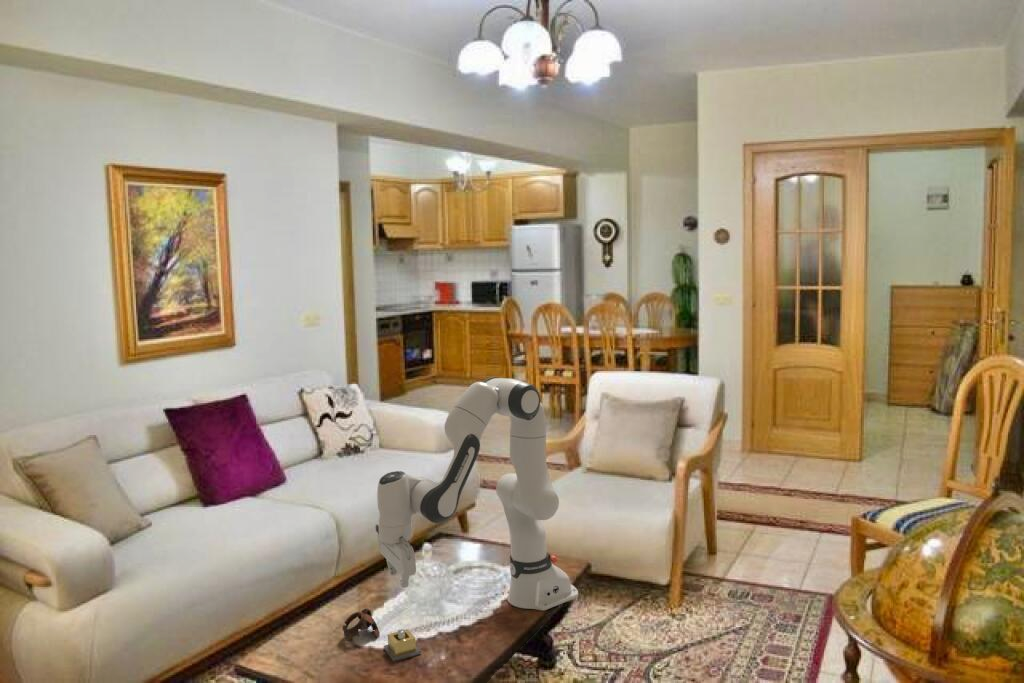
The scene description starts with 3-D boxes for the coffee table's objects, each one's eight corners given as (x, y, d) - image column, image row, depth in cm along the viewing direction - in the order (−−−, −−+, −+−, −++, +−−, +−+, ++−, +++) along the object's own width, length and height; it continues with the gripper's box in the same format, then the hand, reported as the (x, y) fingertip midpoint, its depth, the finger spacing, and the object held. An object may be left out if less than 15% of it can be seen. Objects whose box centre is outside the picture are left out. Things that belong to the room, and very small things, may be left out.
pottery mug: (379, 645, 233) (363, 625, 231) (351, 657, 235) (335, 638, 233) (385, 616, 245) (370, 596, 242) (359, 628, 246) (343, 609, 244)
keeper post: (410, 641, 234) (409, 621, 233) (421, 654, 227) (420, 633, 226) (383, 649, 230) (382, 628, 229) (393, 661, 223) (392, 641, 222)
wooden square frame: (408, 640, 232) (407, 629, 232) (416, 650, 227) (415, 638, 226) (388, 646, 230) (387, 634, 229) (395, 655, 224) (394, 643, 224)
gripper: (420, 541, 216) (423, 591, 218) (394, 518, 234) (397, 564, 236) (397, 546, 213) (400, 597, 215) (373, 523, 231) (376, 569, 233)
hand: (398, 580), depth 226 cm, fingers open, 8 cm apart
